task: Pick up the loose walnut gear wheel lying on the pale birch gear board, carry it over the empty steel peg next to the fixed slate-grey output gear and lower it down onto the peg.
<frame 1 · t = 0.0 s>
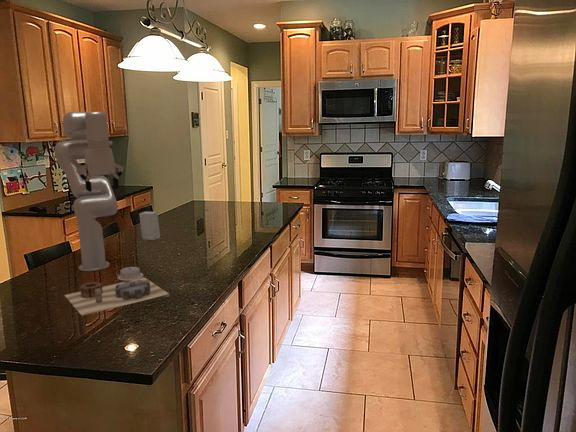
hand: (102, 190, 178), 37 cm above the countertop, tool pointing down, fingers open, 9 cm apart
skincare box: (150, 239, 254), on the countertop
mechanical component: (130, 279, 188), on the countertop
walnut gear: (91, 294, 169), point 1 cm above the countertop, touching gear board
gear board: (117, 297, 168), on the countertop
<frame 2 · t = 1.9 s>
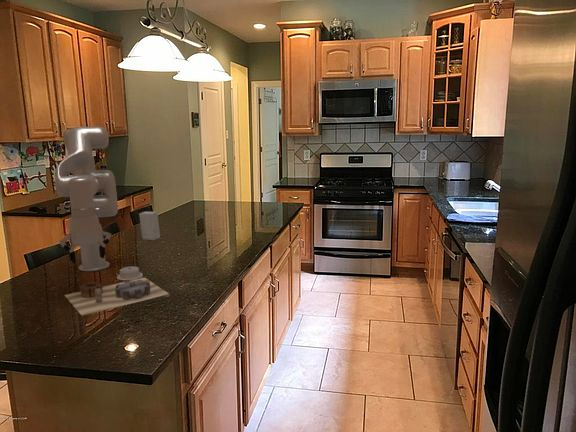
hand: (88, 260, 166), 14 cm above the countertop, tool pointing down, fingers open, 9 cm apart
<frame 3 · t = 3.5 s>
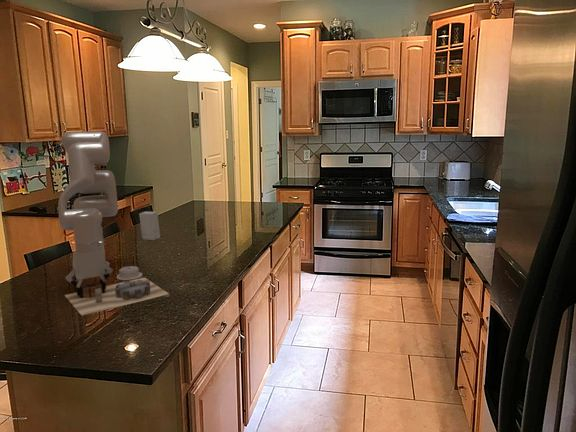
hand: (91, 293, 169), 1 cm above the countertop, tool pointing down, fingers closed on walnut gear, 7 cm apart
walnut gear: (91, 294, 169), point 1 cm above the countertop, touching gear board, gripper
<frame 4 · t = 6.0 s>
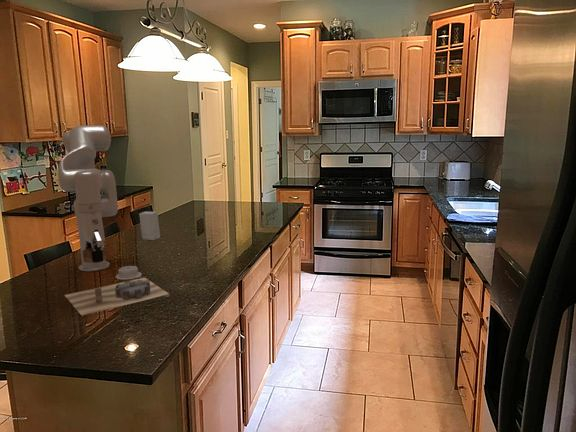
hand: (94, 259, 158), 16 cm above the countertop, tool pointing down, fingers closed on walnut gear, 7 cm apart
walnut gear: (94, 259, 158), point 16 cm above the countertop, touching gripper
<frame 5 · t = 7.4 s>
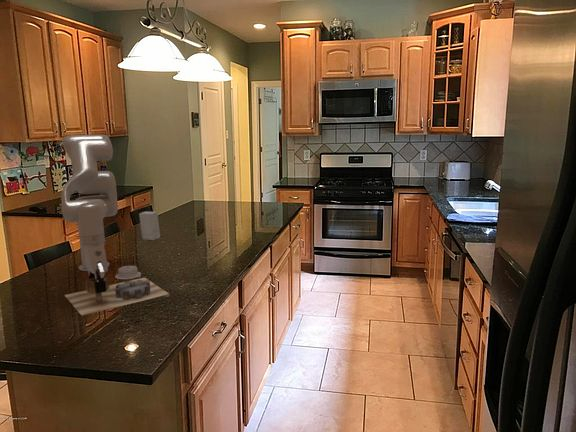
hand: (97, 288, 161), 6 cm above the countertop, tool pointing down, fingers closed on walnut gear, 7 cm apart
walnut gear: (97, 289, 161), point 6 cm above the countertop, touching gripper
when the fingers open (3 cm above the countertop, at t = 8.4 s): walnut gear drops 2 cm, resting on gear board.
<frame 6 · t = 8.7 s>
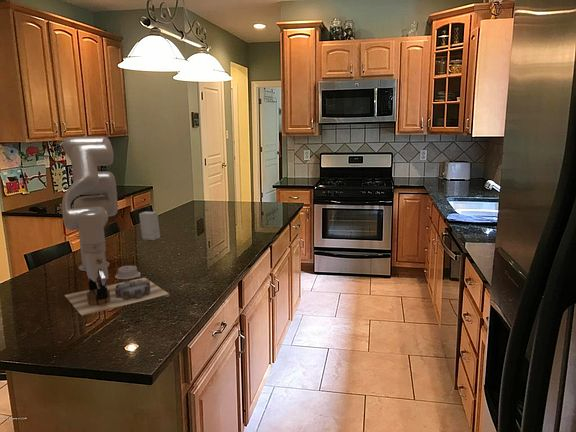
hand: (98, 294, 161), 3 cm above the countertop, tool pointing down, fingers open, 9 cm apart
walnut gear: (99, 301, 162), point 1 cm above the countertop, touching gear board
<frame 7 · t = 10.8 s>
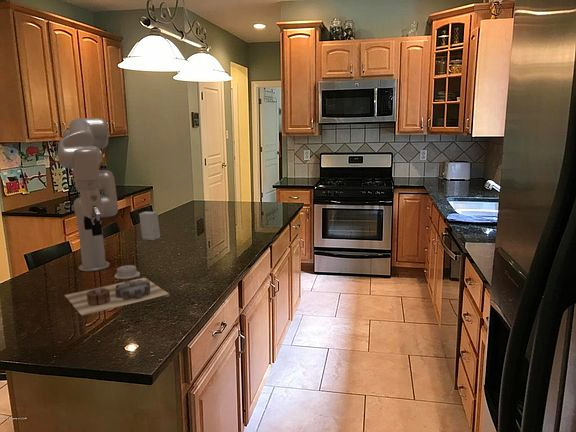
hand: (93, 232, 165), 24 cm above the countertop, tool pointing down, fingers open, 9 cm apart
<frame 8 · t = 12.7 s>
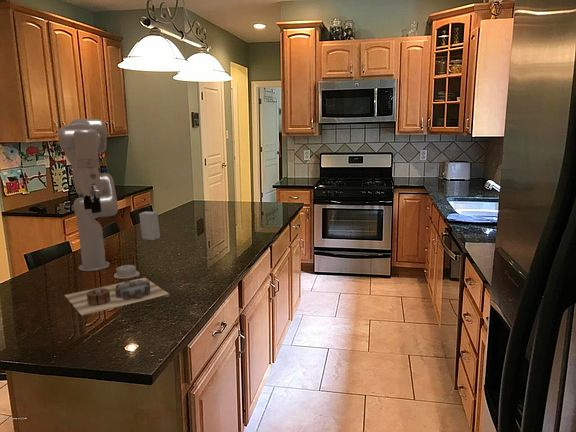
hand: (92, 210, 171), 30 cm above the countertop, tool pointing down, fingers open, 9 cm apart
at the end: walnut gear 0.1 cm from the target spot on the gear board, point 1.0 cm above the gear board's base; walnut gear tilted 0°; the gripper is holding nothing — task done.
